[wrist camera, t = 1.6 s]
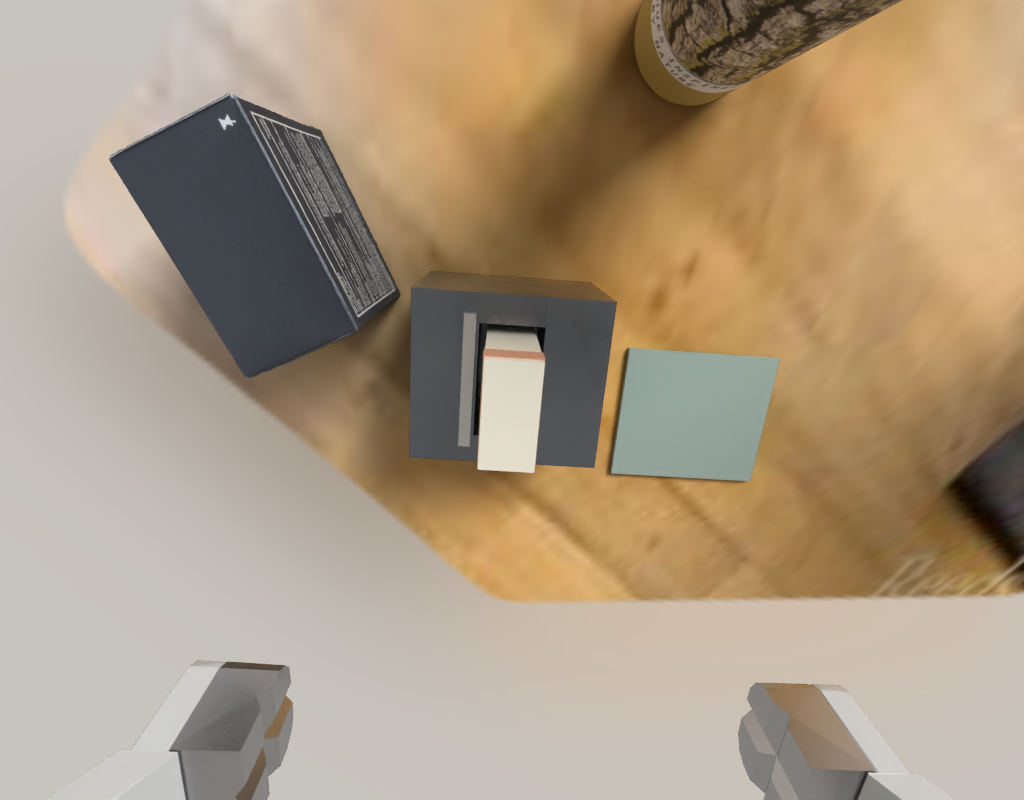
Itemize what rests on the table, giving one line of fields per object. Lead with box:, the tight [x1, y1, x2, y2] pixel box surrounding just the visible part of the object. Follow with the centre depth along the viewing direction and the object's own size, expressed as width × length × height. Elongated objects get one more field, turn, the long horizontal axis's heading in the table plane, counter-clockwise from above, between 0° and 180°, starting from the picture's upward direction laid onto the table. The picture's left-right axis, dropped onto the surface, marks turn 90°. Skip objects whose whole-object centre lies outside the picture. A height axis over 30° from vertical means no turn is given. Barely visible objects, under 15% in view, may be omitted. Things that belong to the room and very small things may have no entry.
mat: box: [610, 348, 780, 481], centre depth 37 cm, size 10×9×1 cm
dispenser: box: [409, 271, 617, 468], centre depth 31 cm, size 10×9×8 cm
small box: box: [109, 93, 400, 378], centre depth 28 cm, size 11×6×10 cm, turn 23°
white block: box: [477, 324, 545, 473], centre depth 27 cm, size 3×5×10 cm, turn 176°
